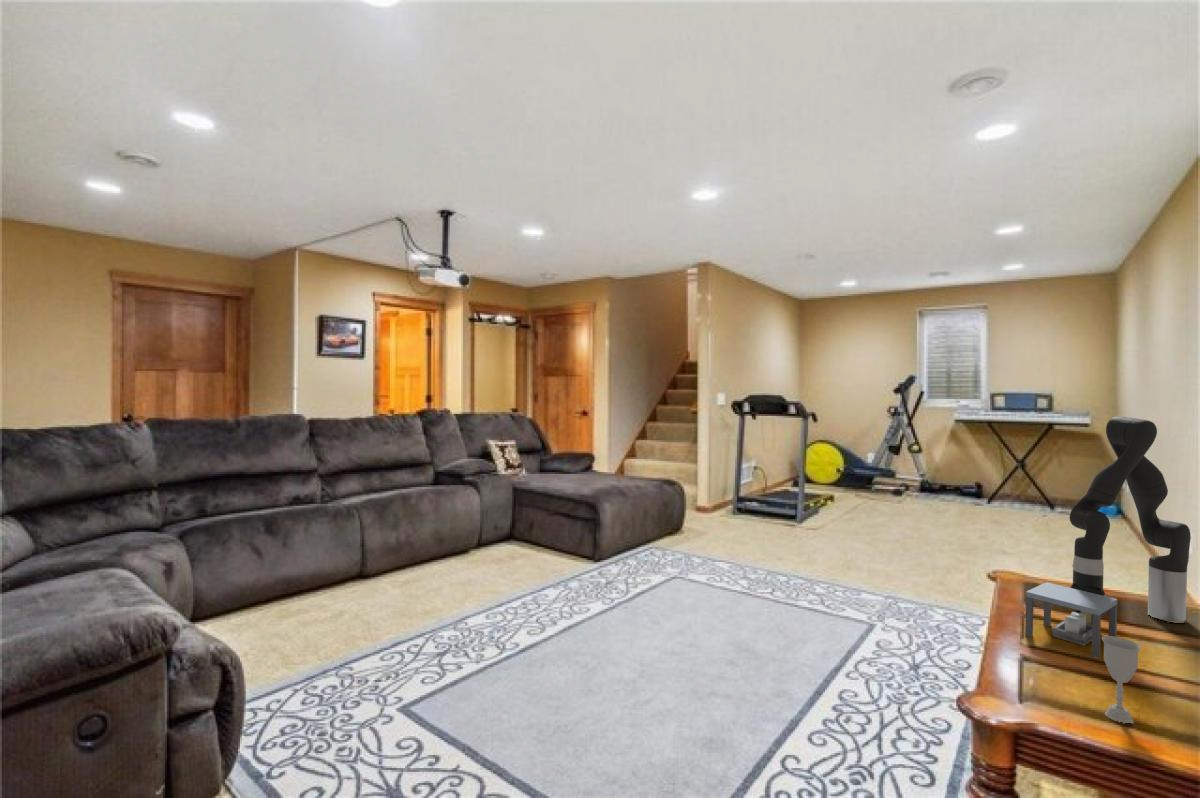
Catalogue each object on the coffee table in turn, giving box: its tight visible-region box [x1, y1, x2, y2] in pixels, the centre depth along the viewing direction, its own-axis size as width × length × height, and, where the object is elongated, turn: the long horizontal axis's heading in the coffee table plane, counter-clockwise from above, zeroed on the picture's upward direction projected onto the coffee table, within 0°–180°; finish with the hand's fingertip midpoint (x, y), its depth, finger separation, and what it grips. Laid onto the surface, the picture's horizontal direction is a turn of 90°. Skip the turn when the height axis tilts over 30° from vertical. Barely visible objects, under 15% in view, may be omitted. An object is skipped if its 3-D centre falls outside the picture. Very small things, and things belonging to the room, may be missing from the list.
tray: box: [1052, 611, 1092, 646], centre depth 181 cm, size 18×8×7 cm, turn 124°
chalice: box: [1101, 635, 1142, 725], centre depth 135 cm, size 7×7×18 cm
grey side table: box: [1024, 581, 1118, 659], centre depth 177 cm, size 16×18×14 cm
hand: (1086, 622), depth 185 cm, fingers closed on tray, 3 cm apart
